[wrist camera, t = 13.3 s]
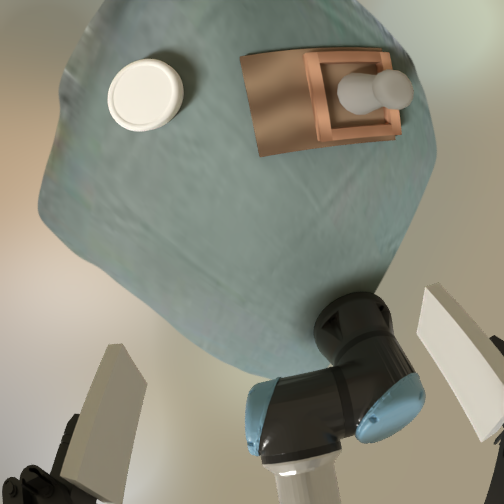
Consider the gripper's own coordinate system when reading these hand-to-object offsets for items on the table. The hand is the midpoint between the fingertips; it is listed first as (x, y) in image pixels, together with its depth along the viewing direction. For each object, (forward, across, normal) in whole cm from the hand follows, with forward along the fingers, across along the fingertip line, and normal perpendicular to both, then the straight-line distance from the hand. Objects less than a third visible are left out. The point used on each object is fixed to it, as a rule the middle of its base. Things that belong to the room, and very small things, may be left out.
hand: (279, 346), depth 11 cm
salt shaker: (+30, -16, -10) cm, 36 cm away
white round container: (+32, +11, -15) cm, 37 cm away
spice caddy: (+32, -12, -10) cm, 35 cm away
